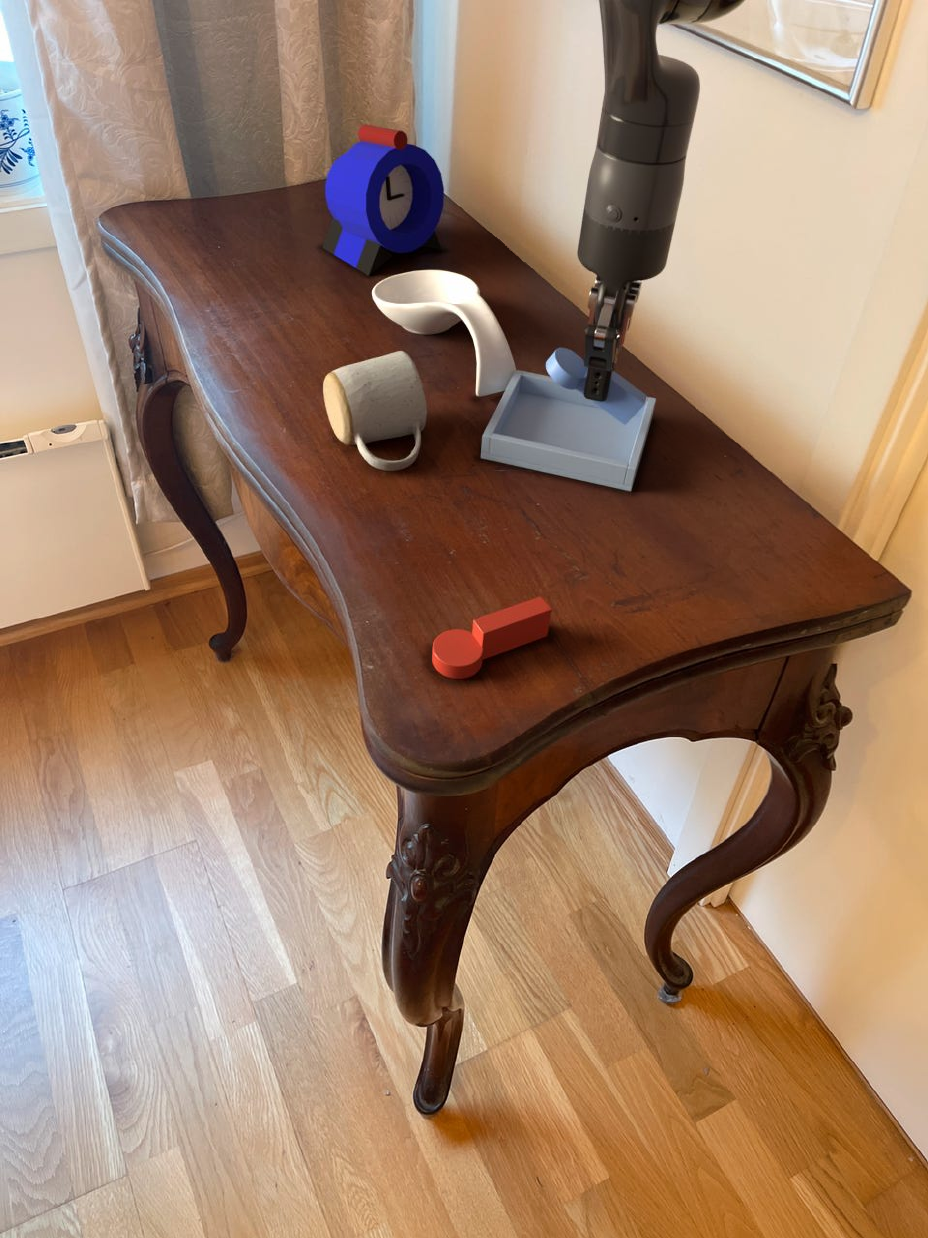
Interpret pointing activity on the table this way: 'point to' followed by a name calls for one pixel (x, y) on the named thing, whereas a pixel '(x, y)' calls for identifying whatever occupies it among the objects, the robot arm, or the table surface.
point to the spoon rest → (449, 318)
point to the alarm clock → (382, 199)
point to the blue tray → (564, 433)
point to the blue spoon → (573, 373)
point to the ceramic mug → (377, 405)
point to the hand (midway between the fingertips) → (596, 392)
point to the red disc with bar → (490, 638)
